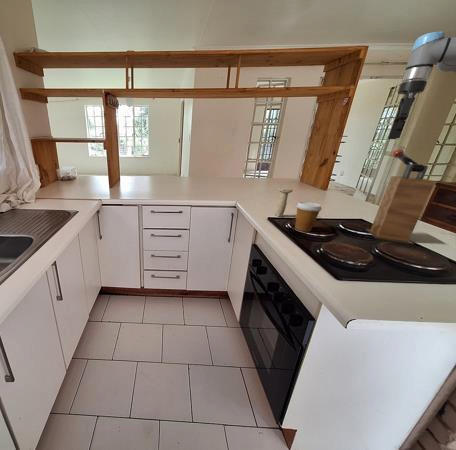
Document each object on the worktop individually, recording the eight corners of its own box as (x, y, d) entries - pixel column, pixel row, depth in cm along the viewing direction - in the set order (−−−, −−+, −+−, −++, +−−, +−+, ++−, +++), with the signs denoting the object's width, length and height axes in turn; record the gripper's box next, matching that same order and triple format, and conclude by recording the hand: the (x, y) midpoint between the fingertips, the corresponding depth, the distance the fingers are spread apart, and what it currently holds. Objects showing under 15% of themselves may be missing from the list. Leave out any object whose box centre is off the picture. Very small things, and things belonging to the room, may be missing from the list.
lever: (389, 156, 108) (393, 148, 106) (399, 156, 107) (403, 148, 105) (409, 173, 92) (414, 164, 90) (421, 174, 91) (426, 165, 89)
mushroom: (274, 213, 130) (280, 187, 125) (286, 216, 127) (293, 189, 122) (271, 215, 127) (277, 188, 122) (284, 218, 123) (291, 190, 118)
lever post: (364, 231, 109) (390, 163, 98) (397, 236, 105) (428, 165, 94) (375, 240, 98) (405, 165, 88) (412, 246, 94) (449, 168, 84)
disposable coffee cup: (310, 234, 102) (317, 208, 98) (287, 228, 109) (293, 203, 105) (318, 230, 108) (325, 205, 104) (296, 224, 114) (302, 200, 110)
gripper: (397, 88, 104) (380, 139, 112) (404, 75, 86) (383, 137, 93) (421, 87, 100) (401, 139, 107) (434, 73, 82) (409, 137, 89)
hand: (393, 138), depth 100 cm, fingers open, 13 cm apart
